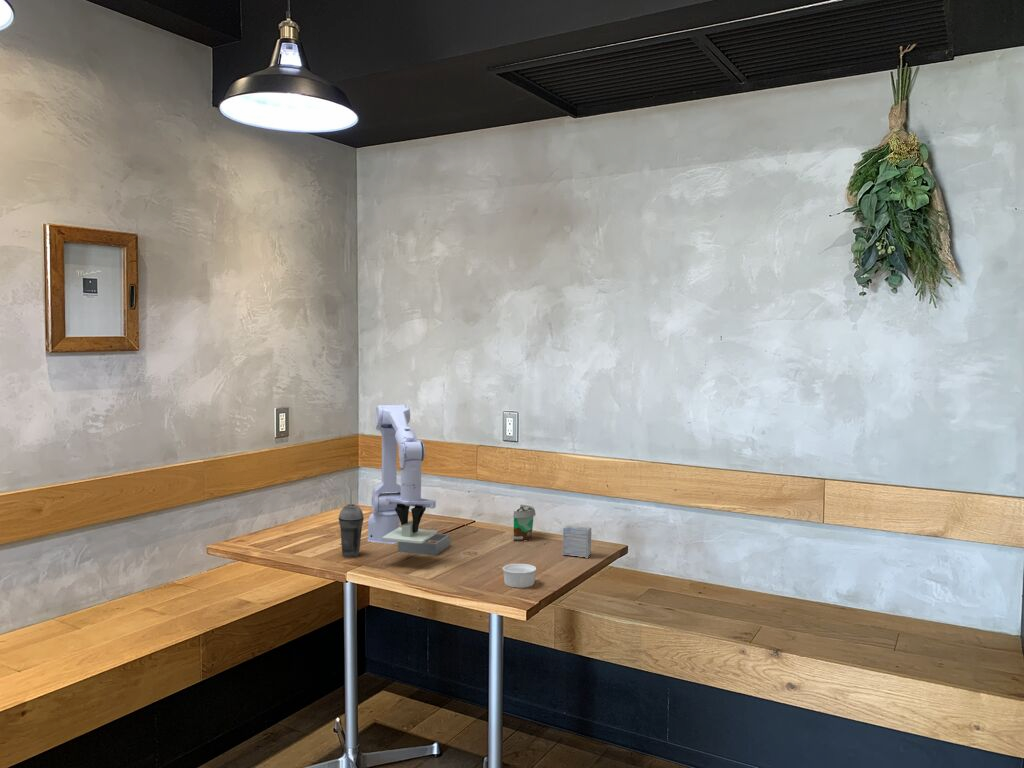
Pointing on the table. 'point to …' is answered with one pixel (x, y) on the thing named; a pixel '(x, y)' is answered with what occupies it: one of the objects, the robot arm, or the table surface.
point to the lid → (409, 534)
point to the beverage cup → (351, 529)
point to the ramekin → (519, 575)
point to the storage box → (426, 545)
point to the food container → (523, 523)
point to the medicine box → (577, 541)
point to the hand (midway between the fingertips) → (410, 531)
